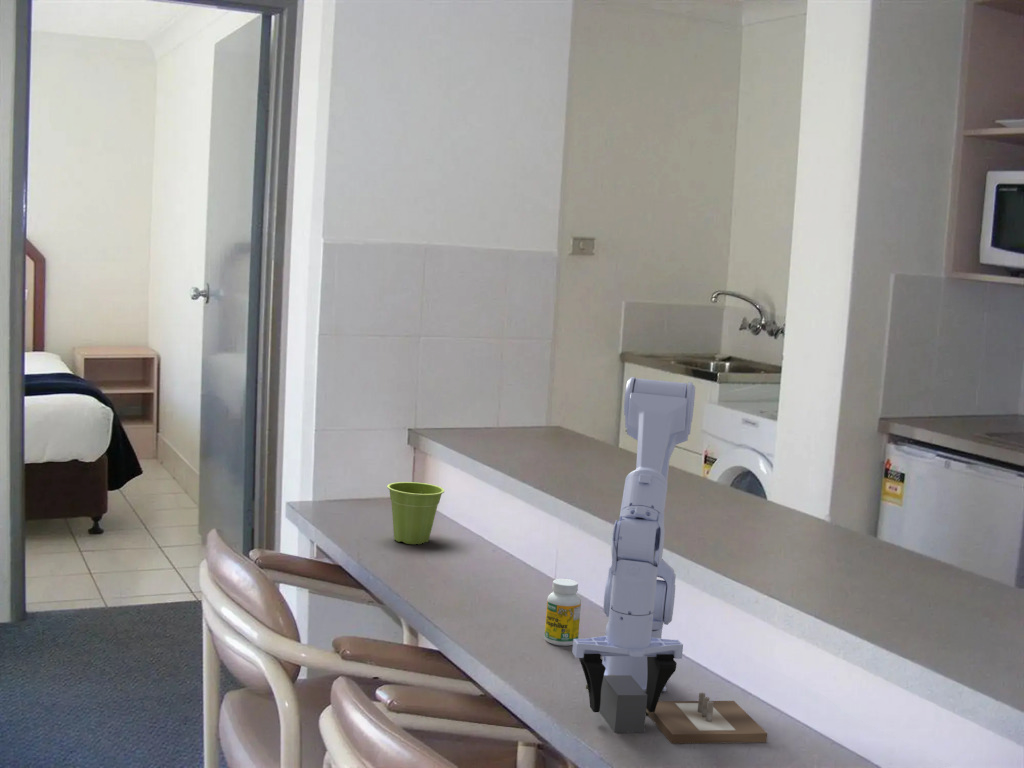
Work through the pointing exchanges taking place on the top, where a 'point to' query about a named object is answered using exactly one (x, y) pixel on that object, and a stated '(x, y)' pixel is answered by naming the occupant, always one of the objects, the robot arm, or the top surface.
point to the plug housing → (623, 703)
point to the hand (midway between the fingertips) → (622, 709)
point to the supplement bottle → (563, 613)
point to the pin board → (706, 722)
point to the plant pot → (413, 510)
